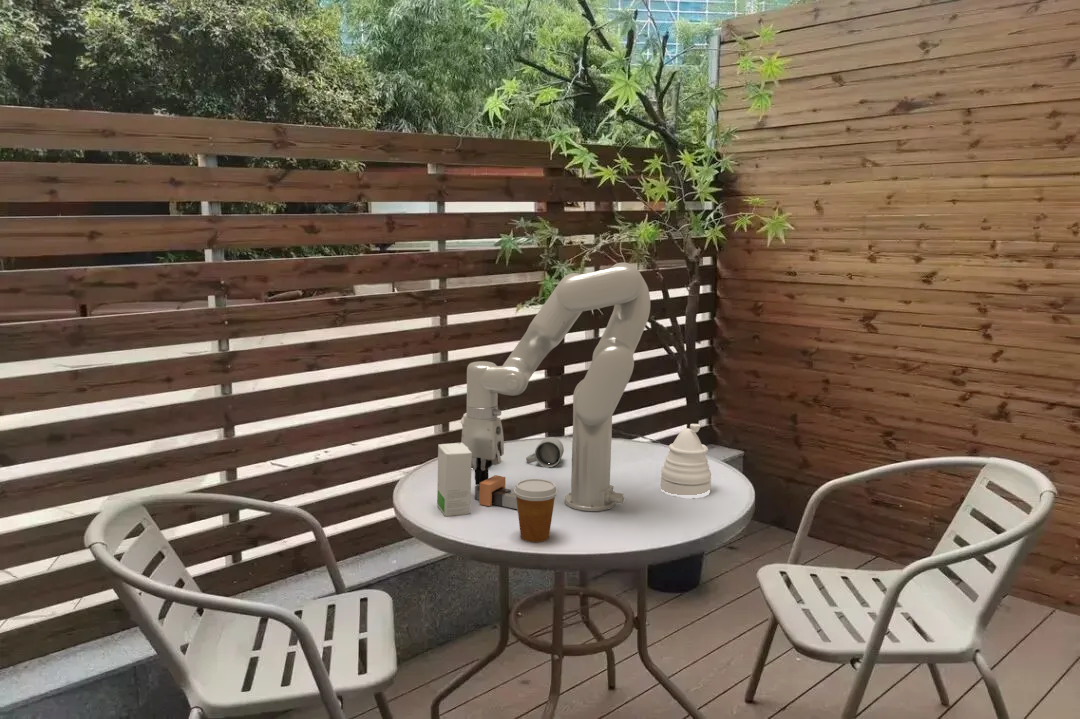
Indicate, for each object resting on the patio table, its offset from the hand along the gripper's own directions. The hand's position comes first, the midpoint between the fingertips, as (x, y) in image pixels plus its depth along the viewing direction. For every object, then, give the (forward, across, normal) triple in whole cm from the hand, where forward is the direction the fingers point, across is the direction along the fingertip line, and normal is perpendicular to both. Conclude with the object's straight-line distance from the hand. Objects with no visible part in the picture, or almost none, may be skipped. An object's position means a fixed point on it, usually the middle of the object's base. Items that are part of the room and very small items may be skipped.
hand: (481, 483), depth 202 cm
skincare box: (+4, +1, +10) cm, 11 cm away
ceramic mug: (+4, +1, -35) cm, 35 cm away
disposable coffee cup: (+4, -23, +14) cm, 28 cm away
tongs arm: (+4, -9, +1) cm, 9 cm away
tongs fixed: (+4, -8, -1) cm, 9 cm away
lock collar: (+4, -3, 0) cm, 5 cm away
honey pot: (+4, -41, -34) cm, 54 cm away
